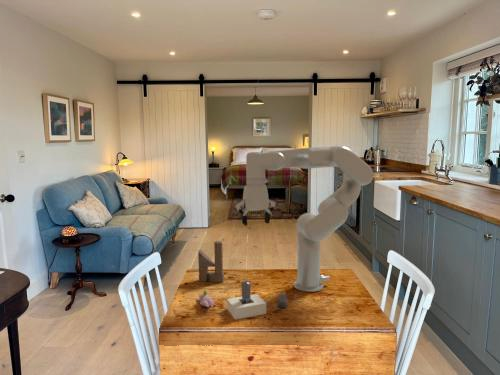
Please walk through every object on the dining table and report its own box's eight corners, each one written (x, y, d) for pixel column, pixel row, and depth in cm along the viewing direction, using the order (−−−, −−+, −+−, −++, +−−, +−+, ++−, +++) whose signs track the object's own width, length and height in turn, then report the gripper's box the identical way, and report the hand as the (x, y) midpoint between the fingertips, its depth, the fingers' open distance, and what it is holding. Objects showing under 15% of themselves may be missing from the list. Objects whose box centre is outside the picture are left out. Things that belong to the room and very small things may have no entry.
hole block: (256, 303, 145) (256, 293, 144) (266, 313, 136) (266, 303, 136) (227, 309, 141) (226, 298, 140) (234, 319, 132) (234, 308, 132)
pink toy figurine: (195, 302, 150) (201, 312, 136) (194, 287, 150) (200, 296, 136) (210, 300, 152) (218, 310, 137) (210, 285, 152) (217, 293, 138)
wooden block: (200, 279, 171) (199, 240, 169) (224, 279, 171) (223, 241, 168) (198, 282, 168) (197, 242, 166) (222, 282, 167) (222, 243, 165)
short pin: (284, 304, 144) (284, 293, 143) (288, 308, 141) (288, 296, 140) (276, 305, 143) (276, 294, 142) (280, 309, 140) (280, 297, 139)
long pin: (248, 308, 141) (248, 280, 139) (252, 312, 138) (251, 283, 136) (240, 310, 139) (240, 281, 138) (243, 313, 136) (243, 284, 135)
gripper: (271, 180, 160) (271, 220, 162) (232, 182, 154) (233, 223, 156) (279, 182, 153) (279, 223, 155) (238, 184, 147) (239, 227, 149)
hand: (256, 223), depth 155 cm, fingers open, 9 cm apart
